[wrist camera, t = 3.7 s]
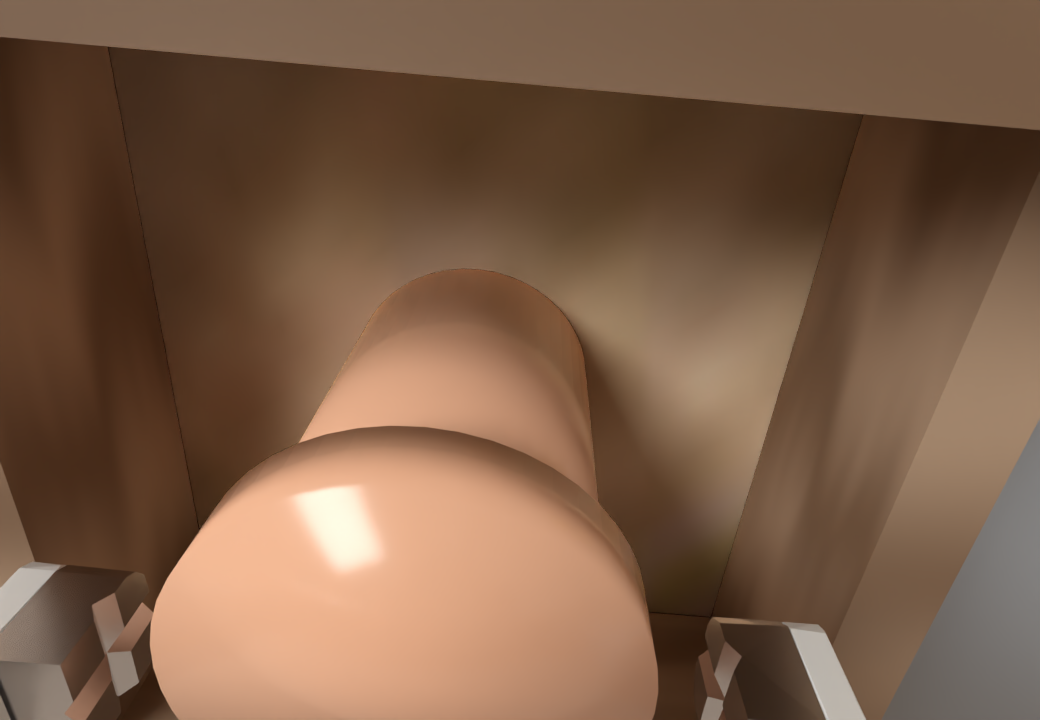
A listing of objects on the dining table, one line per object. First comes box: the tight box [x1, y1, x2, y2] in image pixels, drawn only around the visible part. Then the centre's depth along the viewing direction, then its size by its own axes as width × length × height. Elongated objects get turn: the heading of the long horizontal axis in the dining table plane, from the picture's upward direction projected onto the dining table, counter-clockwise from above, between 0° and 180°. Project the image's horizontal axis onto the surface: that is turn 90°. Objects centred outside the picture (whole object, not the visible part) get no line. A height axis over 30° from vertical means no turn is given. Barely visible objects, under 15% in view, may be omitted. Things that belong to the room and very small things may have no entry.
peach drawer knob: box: [150, 269, 658, 720], centre depth 12 cm, size 6×6×8 cm
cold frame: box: [0, 0, 1040, 720], centre depth 12 cm, size 17×17×7 cm
